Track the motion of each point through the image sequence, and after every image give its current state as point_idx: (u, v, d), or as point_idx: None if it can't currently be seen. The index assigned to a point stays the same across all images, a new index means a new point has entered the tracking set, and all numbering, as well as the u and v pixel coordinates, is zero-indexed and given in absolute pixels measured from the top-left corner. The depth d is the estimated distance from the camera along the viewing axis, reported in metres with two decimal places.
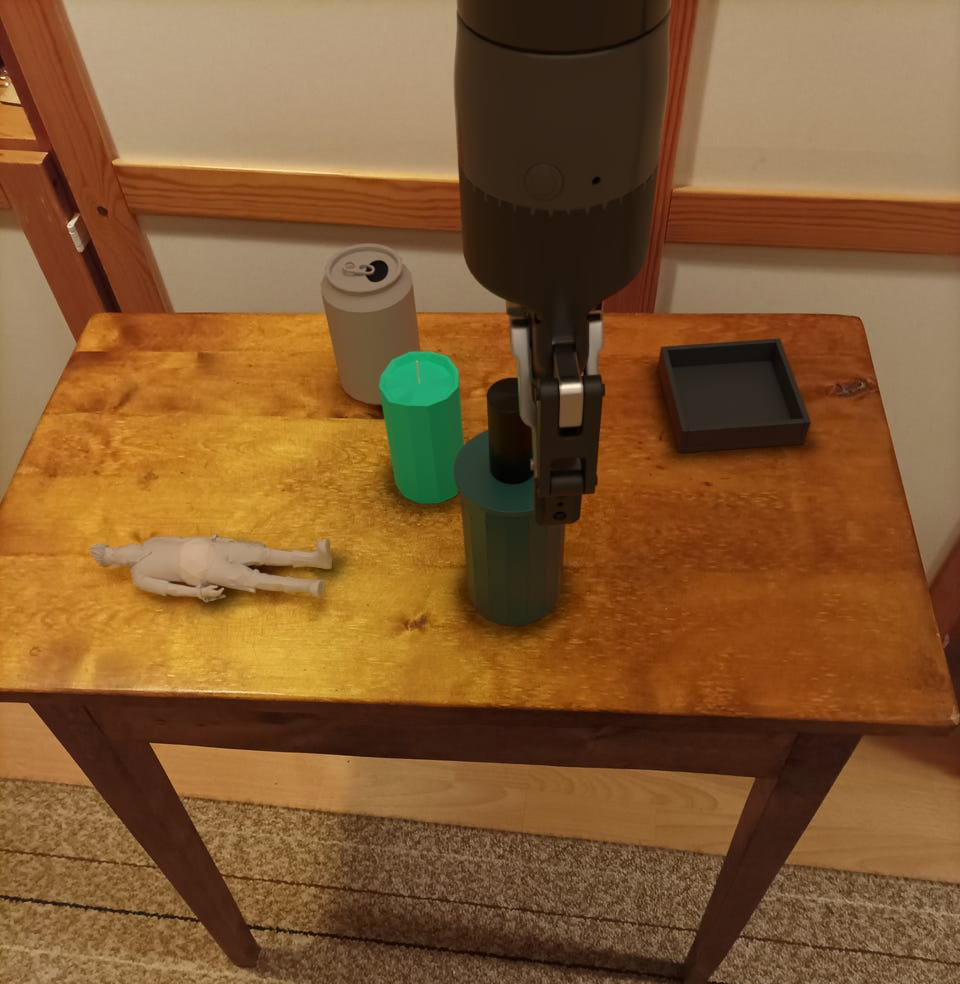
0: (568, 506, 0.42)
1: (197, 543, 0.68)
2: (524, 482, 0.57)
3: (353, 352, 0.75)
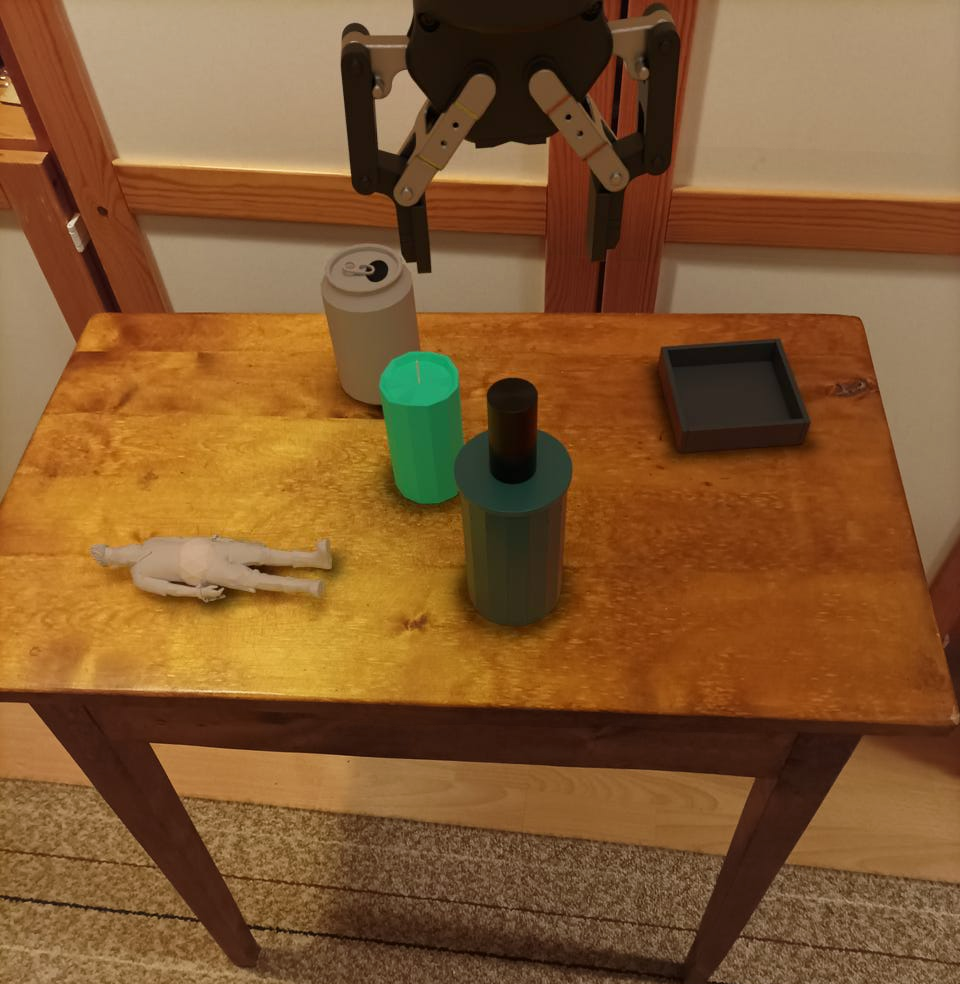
0: None
1: (197, 543, 0.68)
2: (524, 482, 0.57)
3: (353, 352, 0.75)
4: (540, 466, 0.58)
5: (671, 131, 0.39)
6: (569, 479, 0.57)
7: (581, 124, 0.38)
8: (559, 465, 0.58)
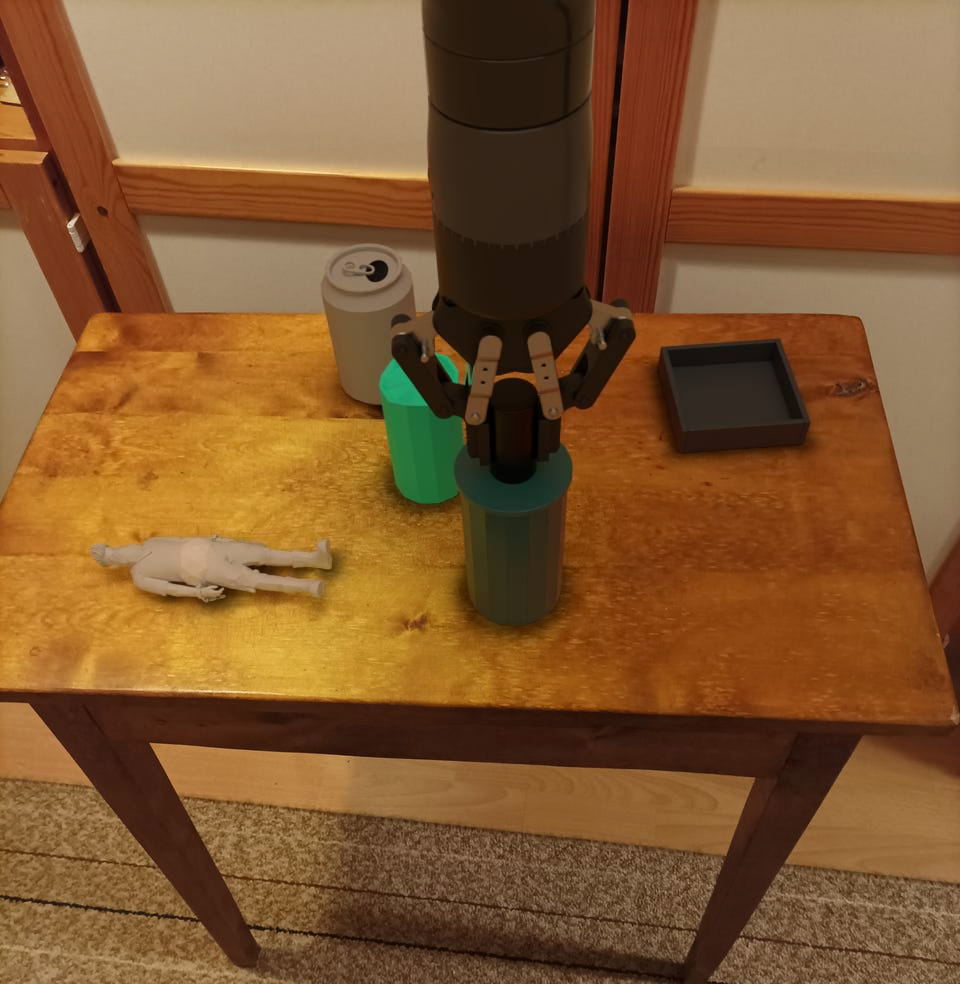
0: None
1: (197, 543, 0.68)
2: (524, 482, 0.57)
3: (353, 352, 0.75)
4: (540, 466, 0.58)
5: (603, 387, 0.51)
6: (569, 479, 0.57)
7: (550, 373, 0.50)
8: (559, 465, 0.58)
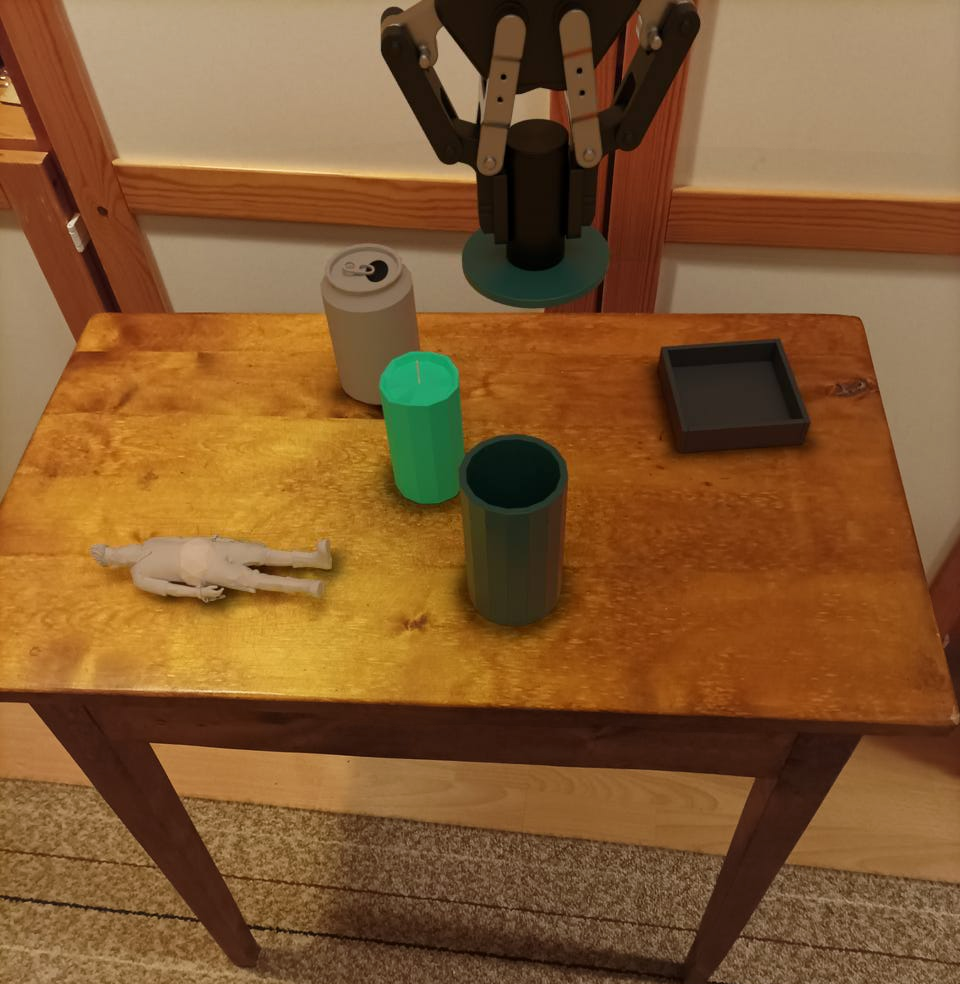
0: (478, 202, 0.44)
1: (197, 543, 0.68)
2: (550, 269, 0.46)
3: (353, 352, 0.75)
4: (569, 252, 0.47)
5: (654, 113, 0.40)
6: (606, 264, 0.46)
7: (587, 84, 0.38)
8: (593, 251, 0.46)
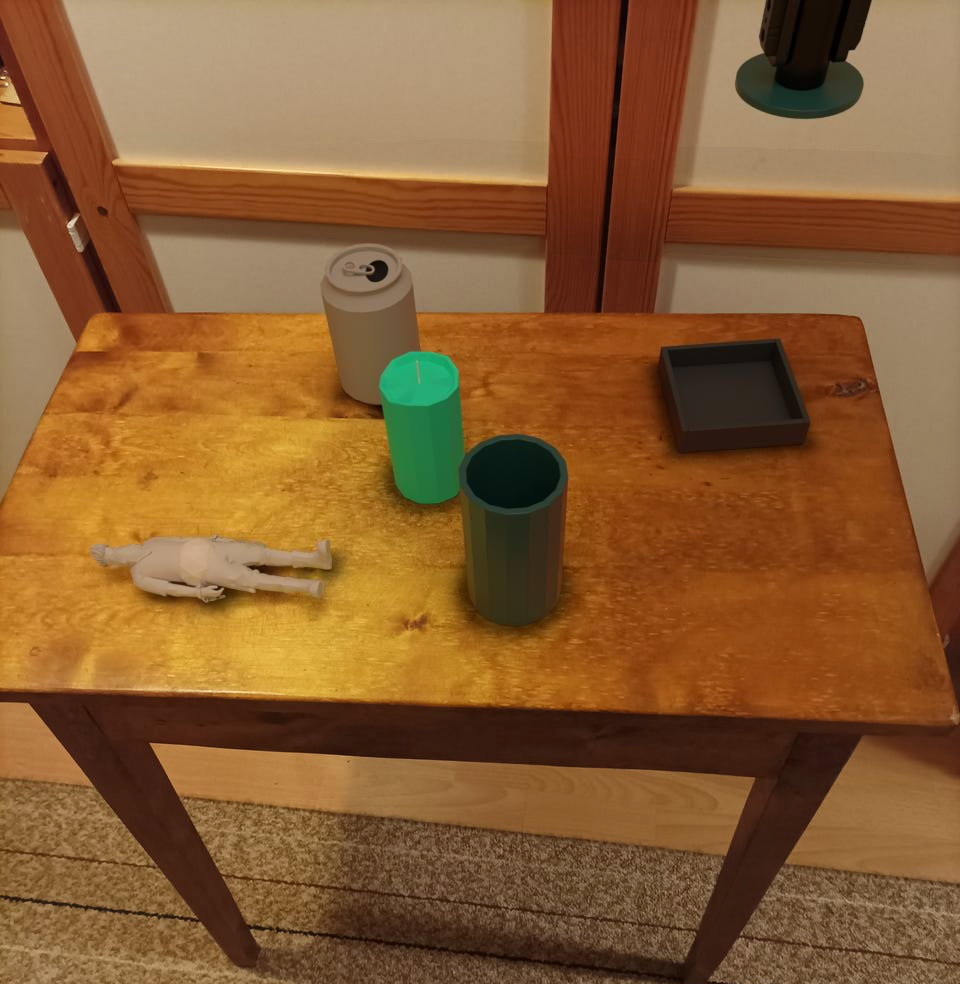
0: (766, 26, 0.53)
1: (198, 543, 0.68)
2: (815, 89, 0.55)
3: (353, 352, 0.75)
4: (828, 77, 0.55)
5: None
6: (862, 85, 0.55)
7: None
8: (848, 76, 0.55)
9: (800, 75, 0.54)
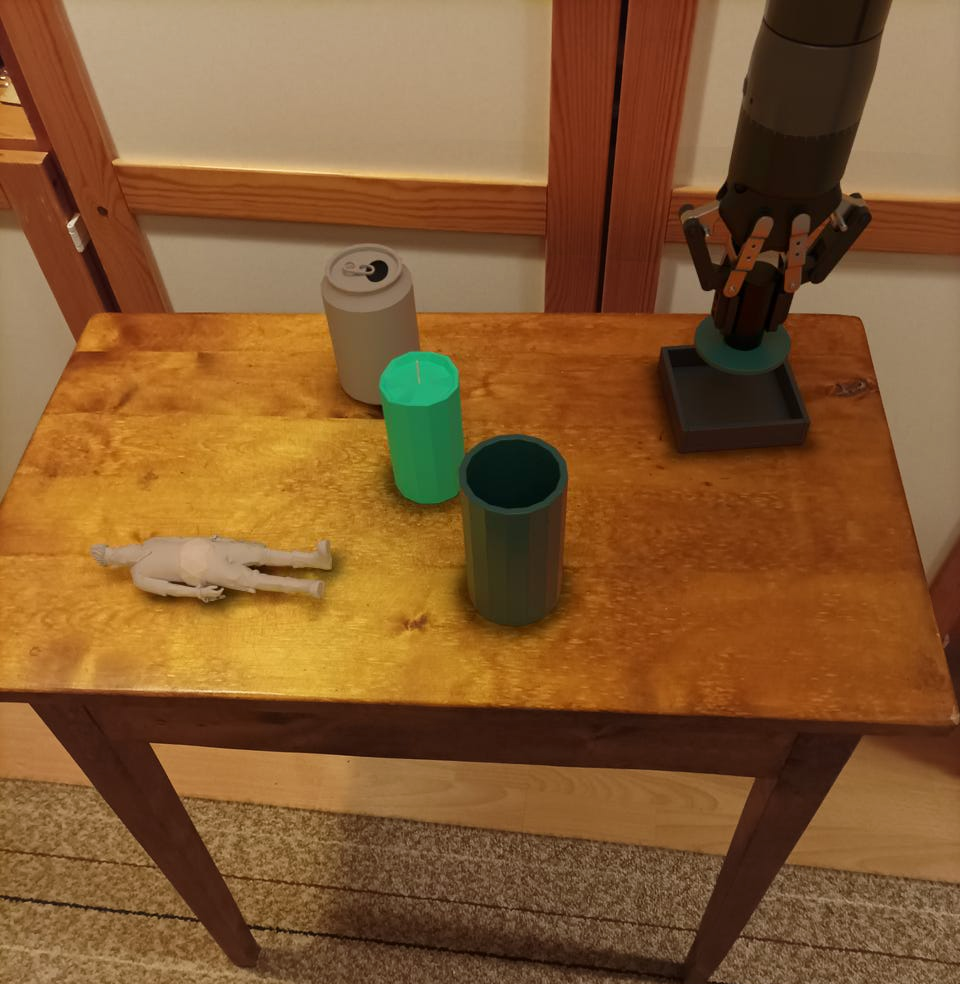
0: (715, 310, 0.70)
1: (198, 544, 0.68)
2: (754, 349, 0.72)
3: (353, 352, 0.75)
4: (764, 338, 0.73)
5: (835, 264, 0.66)
6: (789, 347, 0.72)
7: (801, 250, 0.64)
8: (779, 337, 0.73)
9: (742, 341, 0.71)
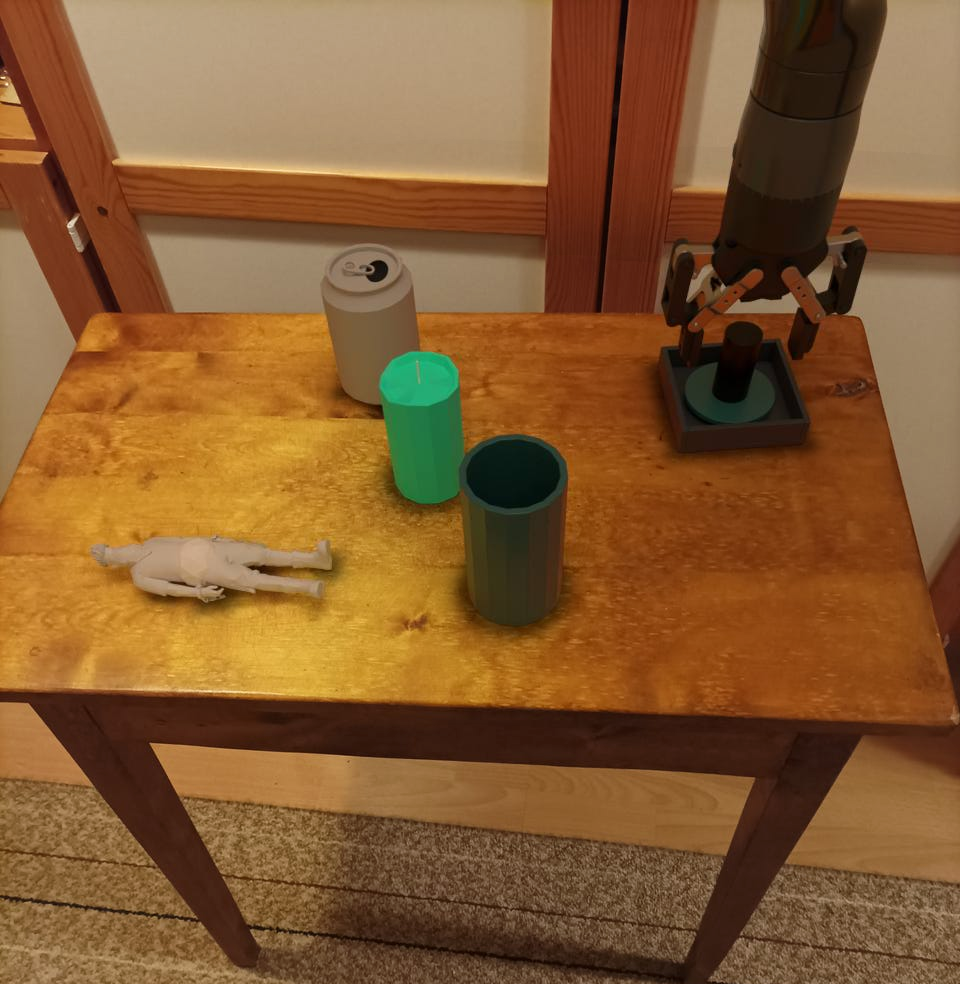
0: (682, 344, 0.73)
1: (198, 544, 0.68)
2: (740, 402, 0.77)
3: (353, 352, 0.75)
4: (750, 390, 0.77)
5: (854, 293, 0.68)
6: (774, 399, 0.77)
7: (805, 291, 0.68)
8: (764, 390, 0.77)
9: (728, 395, 0.76)
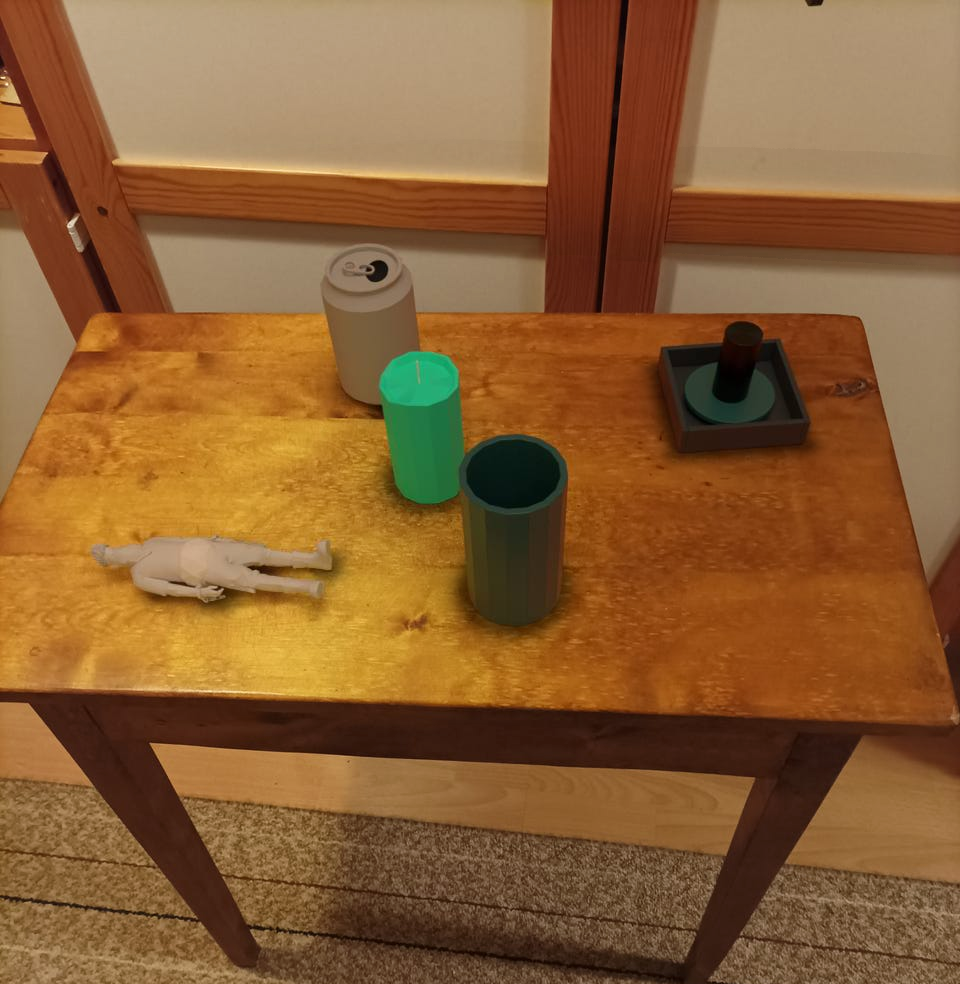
0: None
1: (198, 544, 0.68)
2: (740, 402, 0.77)
3: (353, 352, 0.75)
4: (750, 390, 0.77)
5: None
6: (774, 399, 0.77)
7: None
8: (764, 390, 0.77)
9: (728, 395, 0.76)
